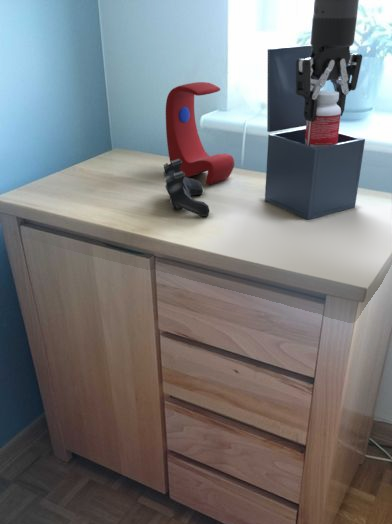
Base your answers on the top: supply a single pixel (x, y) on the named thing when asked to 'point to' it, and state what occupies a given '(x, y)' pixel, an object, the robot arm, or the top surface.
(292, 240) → the top surface
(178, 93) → the chair
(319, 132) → the pill bottle
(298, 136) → the chest
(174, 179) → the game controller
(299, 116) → the chest lid
